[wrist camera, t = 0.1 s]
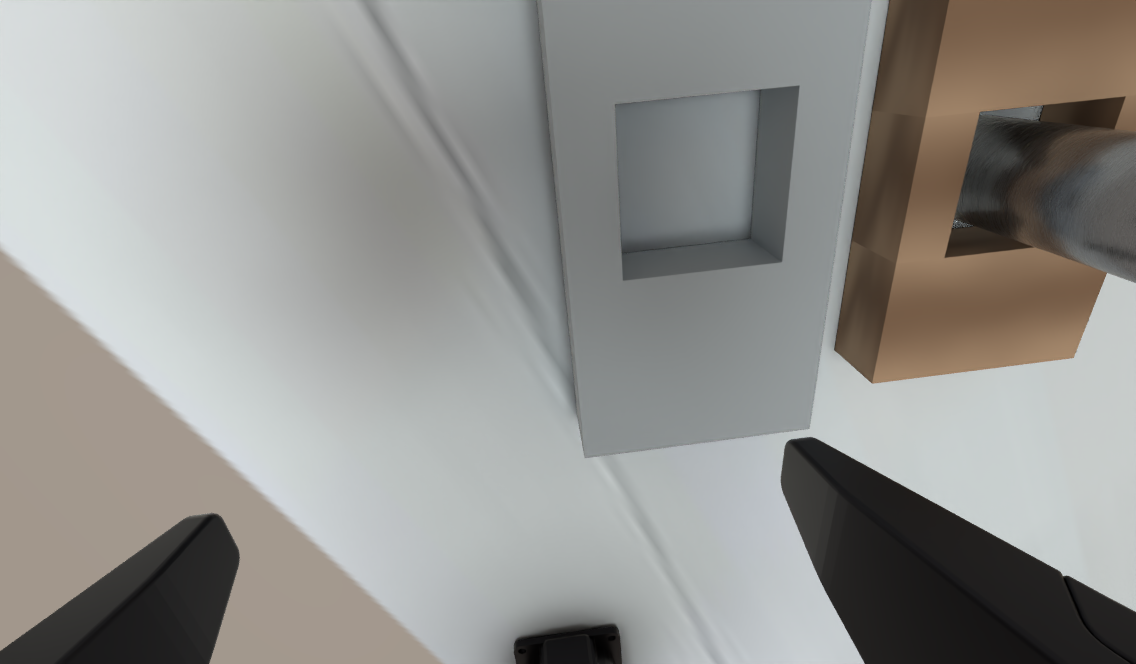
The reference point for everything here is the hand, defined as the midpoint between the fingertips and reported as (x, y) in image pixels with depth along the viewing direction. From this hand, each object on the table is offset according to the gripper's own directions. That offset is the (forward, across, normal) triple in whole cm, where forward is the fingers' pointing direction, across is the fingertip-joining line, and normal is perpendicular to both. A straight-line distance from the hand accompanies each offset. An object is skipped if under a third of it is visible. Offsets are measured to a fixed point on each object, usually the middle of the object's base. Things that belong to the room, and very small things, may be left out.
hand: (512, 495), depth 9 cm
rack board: (+15, -7, -2) cm, 16 cm away
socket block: (+15, -19, -1) cm, 24 cm away
